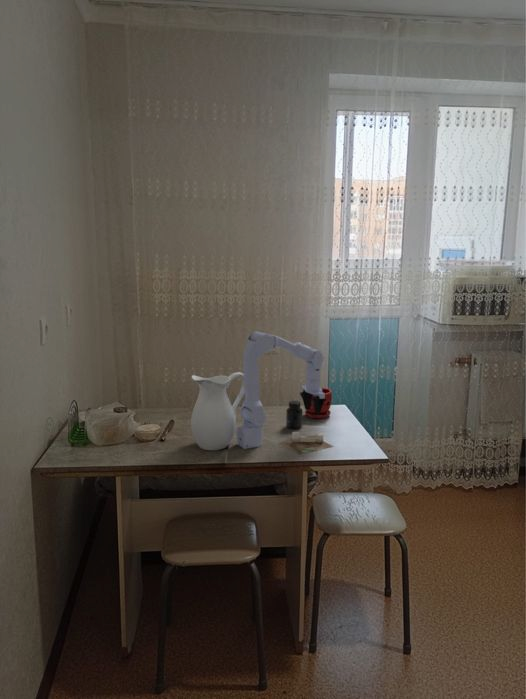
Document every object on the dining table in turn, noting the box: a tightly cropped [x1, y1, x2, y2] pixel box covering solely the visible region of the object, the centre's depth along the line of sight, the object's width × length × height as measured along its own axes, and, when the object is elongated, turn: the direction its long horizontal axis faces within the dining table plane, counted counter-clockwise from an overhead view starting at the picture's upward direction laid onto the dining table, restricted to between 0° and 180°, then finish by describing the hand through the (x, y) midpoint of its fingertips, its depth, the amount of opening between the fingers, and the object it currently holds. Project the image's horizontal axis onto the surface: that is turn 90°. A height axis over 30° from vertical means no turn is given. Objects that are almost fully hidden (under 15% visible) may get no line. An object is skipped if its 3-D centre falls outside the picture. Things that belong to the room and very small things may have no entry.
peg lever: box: [291, 431, 324, 443], centre depth 203 cm, size 12×3×3 cm, turn 91°
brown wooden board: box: [279, 439, 334, 455], centre depth 201 cm, size 16×14×1 cm
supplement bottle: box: [285, 400, 304, 430], centre depth 221 cm, size 7×7×12 cm
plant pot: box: [304, 387, 333, 419], centre depth 241 cm, size 13×13×12 cm
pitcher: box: [190, 371, 245, 451], centre depth 203 cm, size 24×17×28 cm
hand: (312, 411), depth 214 cm, fingers open, 7 cm apart
